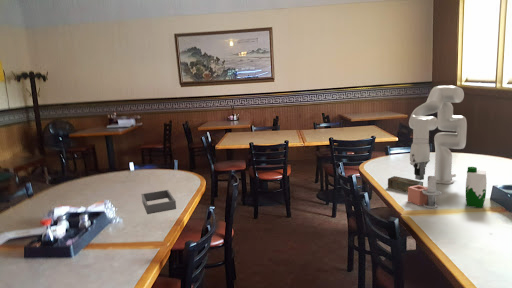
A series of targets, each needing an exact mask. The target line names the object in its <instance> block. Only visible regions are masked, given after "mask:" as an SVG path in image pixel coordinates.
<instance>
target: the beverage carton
mask: <svg viewBox="0 0 512 288" xmlns="http://www.w3.org/2000/svg"><path fill="white" fill-rule="evenodd" d="M416 185H421V186H424V182H423V181H422V180H417V179H412V178H411V179H410V178H406V177H401V176H395V175H394V176H391V177H389V178H387V188H389V189H393V190H398V191H401V190H402V191H403V192H406V191H407V193H408V187H411V186H416Z"/></svg>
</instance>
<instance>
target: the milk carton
mask: <svg viewBox="0 0 512 288" xmlns="http://www.w3.org/2000/svg"><path fill="white" fill-rule="evenodd" d="M486 196H487V173H486V170H480V169H478V168H477V167H476V166H467V171H466V181H465V202H466V203H465V204H466V207H471V208H479V209H483V207H484V204H485V200H486Z"/></svg>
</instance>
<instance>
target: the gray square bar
mask: <svg viewBox="0 0 512 288" xmlns="http://www.w3.org/2000/svg"><path fill="white" fill-rule="evenodd" d="M416 164H417V163H416ZM419 168H420V176H418V175H415V177H414V180H416V181H424V179H425V175H424V162H421V163H420V165H419Z"/></svg>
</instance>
